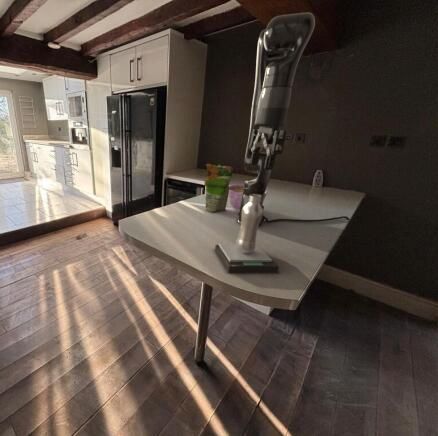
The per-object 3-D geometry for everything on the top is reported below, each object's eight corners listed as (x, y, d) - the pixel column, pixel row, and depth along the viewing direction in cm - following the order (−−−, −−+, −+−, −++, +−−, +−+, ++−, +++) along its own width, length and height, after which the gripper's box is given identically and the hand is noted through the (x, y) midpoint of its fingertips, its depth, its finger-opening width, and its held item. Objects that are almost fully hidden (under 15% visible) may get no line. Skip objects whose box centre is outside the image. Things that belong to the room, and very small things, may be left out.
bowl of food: (267, 217, 119) (273, 195, 114) (227, 214, 121) (231, 193, 117) (257, 205, 137) (261, 186, 132) (222, 202, 140) (225, 183, 135)
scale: (256, 250, 87) (258, 242, 86) (277, 272, 74) (279, 264, 73) (214, 250, 86) (216, 242, 85) (228, 272, 73) (229, 264, 72)
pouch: (228, 213, 123) (236, 165, 114) (207, 213, 122) (213, 165, 112) (219, 206, 133) (226, 162, 124) (199, 206, 132) (205, 162, 122)
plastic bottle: (253, 248, 82) (265, 193, 74) (254, 257, 76) (268, 199, 68) (234, 244, 84) (244, 191, 76) (234, 253, 78) (245, 197, 70)
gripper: (303, 105, 57) (287, 171, 63) (272, 108, 70) (261, 163, 76) (273, 104, 56) (260, 171, 62) (247, 108, 69) (238, 163, 76)
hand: (260, 166), depth 69 cm, fingers open, 8 cm apart
